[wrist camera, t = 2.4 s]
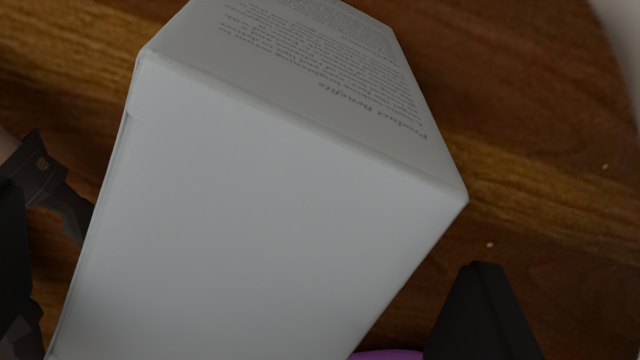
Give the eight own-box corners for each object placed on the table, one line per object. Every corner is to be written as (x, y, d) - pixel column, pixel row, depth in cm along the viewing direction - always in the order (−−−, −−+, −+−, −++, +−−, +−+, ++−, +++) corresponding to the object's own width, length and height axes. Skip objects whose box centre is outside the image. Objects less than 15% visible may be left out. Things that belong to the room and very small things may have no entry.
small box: (295, 203, 21) (277, 462, 12) (161, 149, 19) (26, 394, 10) (397, 24, 17) (486, 203, 8) (240, -58, 16) (135, 46, 7)
